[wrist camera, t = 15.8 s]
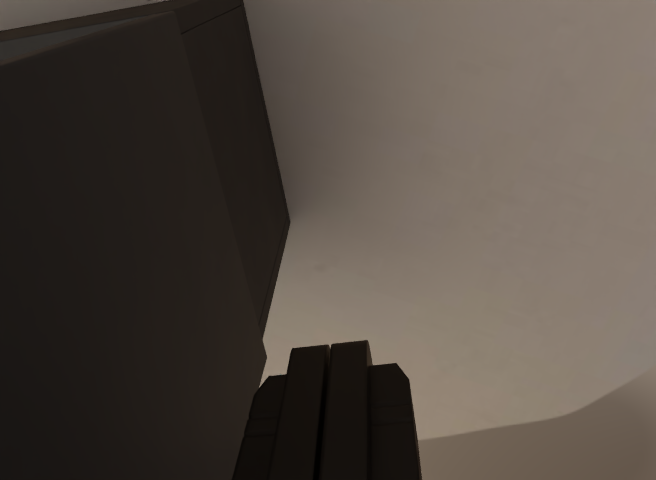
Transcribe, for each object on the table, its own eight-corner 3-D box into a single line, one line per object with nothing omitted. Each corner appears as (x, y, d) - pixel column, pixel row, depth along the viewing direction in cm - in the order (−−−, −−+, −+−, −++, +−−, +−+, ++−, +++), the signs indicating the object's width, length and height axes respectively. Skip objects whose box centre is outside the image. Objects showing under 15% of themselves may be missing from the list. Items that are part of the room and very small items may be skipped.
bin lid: (48, 1009, 9) (94, 1011, 9) (-857, 320, 3) (-755, 305, 3) (249, 359, 24) (268, 357, 24) (151, 14, 18) (175, 10, 18)
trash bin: (57, 253, 37) (-74, 387, 26) (-35, 37, 31) (-259, 87, 20) (290, 222, 36) (260, 351, 24) (240, -13, 30) (167, 11, 18)
